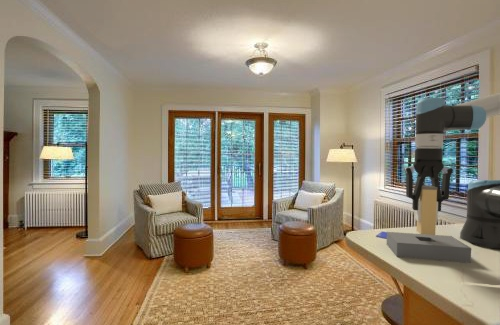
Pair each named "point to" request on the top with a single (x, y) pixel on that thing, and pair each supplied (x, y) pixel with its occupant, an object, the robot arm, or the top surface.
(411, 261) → the top surface
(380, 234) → the hard drive
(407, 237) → the socket block
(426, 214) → the plug
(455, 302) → the top surface
